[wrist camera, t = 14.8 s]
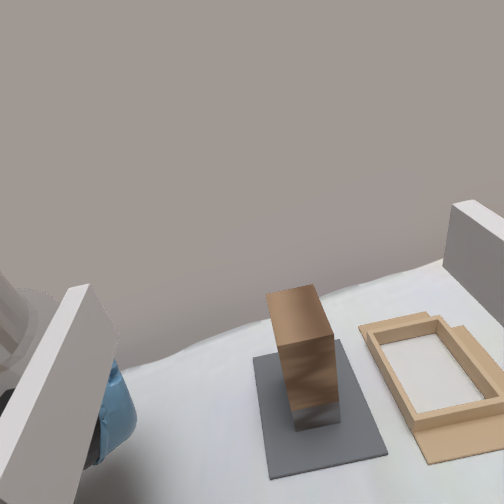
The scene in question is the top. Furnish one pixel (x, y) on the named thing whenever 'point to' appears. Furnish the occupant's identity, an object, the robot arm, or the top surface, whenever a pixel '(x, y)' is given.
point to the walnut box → (306, 356)
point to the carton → (451, 418)
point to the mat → (317, 439)
